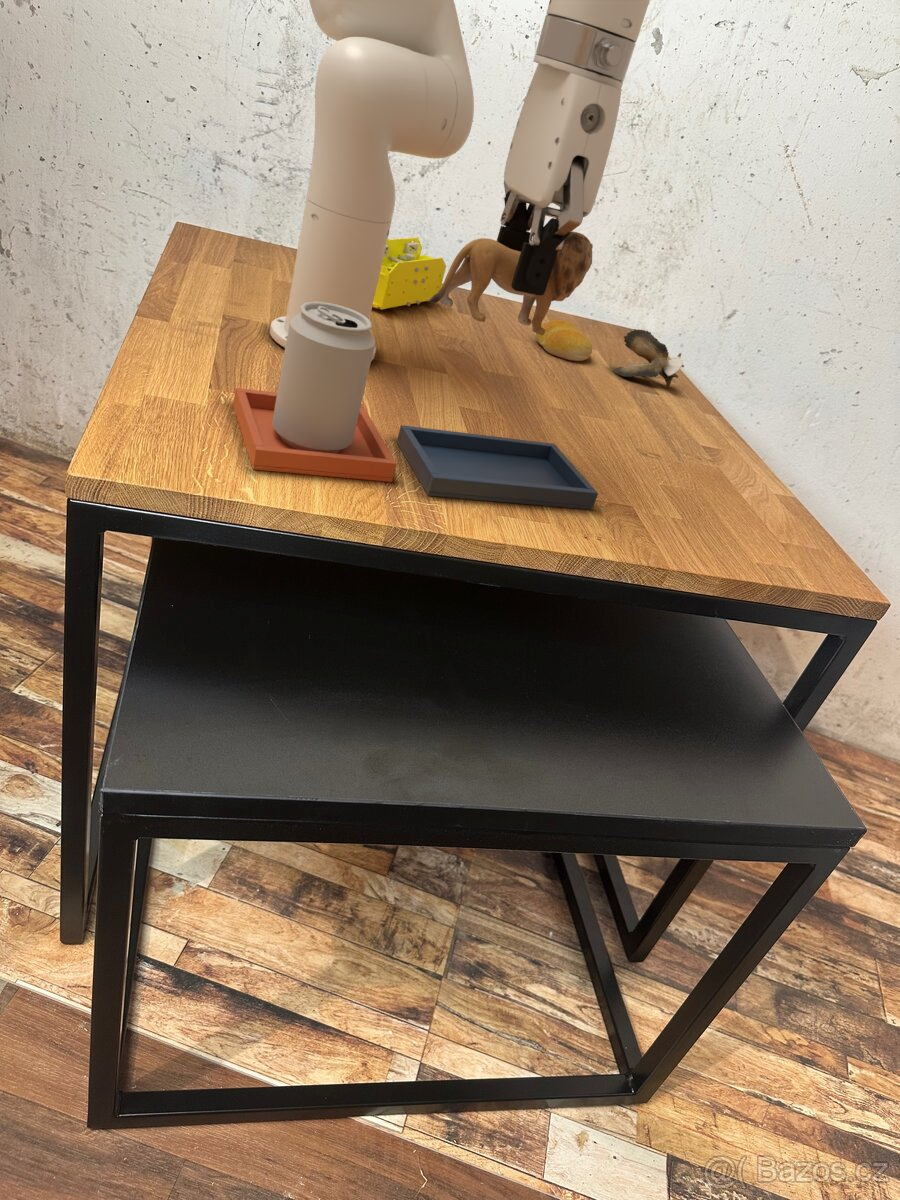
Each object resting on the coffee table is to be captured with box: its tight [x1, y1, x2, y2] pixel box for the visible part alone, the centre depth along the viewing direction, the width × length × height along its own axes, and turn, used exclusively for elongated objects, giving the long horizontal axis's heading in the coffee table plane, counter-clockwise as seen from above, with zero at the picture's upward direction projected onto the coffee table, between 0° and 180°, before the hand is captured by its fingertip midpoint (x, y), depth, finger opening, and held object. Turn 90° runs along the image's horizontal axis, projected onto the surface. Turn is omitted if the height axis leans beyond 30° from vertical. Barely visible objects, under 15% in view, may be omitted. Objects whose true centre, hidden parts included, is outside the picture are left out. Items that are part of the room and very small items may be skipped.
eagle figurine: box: [612, 328, 685, 389], centre depth 128 cm, size 8×7×9 cm
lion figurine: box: [427, 231, 594, 335], centre depth 79 cm, size 15×5×9 cm, turn 110°
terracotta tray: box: [232, 387, 397, 483], centre depth 80 cm, size 13×13×2 cm
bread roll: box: [535, 319, 593, 362], centre depth 129 cm, size 8×9×4 cm
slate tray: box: [396, 424, 599, 511], centre depth 85 cm, size 11×18×2 cm, turn 109°
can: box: [272, 302, 376, 454], centre depth 77 cm, size 8×8×12 cm
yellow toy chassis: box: [372, 237, 447, 311], centre depth 125 cm, size 16×6×8 cm, turn 150°
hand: (516, 280), depth 79 cm, fingers closed on lion figurine, 4 cm apart
